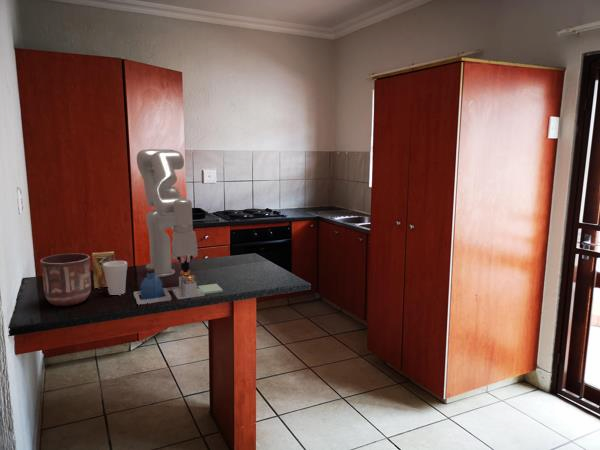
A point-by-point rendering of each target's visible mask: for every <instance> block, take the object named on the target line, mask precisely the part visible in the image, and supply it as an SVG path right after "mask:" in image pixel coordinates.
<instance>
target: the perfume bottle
mask: <svg viewBox="0 0 600 450" xmlns="http://www.w3.org/2000/svg"><path fill="white" fill-rule="evenodd" d="M154 271H155V269H148V268H146V277H144V278H143V280H142V282H141V284H140V291H141V296H140V300H141V299H149V298H156V297H164V293H163V288H164V287H163V281H162V279H161V277H158V276H155V272H154Z"/></svg>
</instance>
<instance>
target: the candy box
mask: <svg viewBox="0 0 600 450" xmlns="http://www.w3.org/2000/svg"><path fill="white" fill-rule="evenodd" d="M91 259H92V260H91V261H92V273H93V286H94V287H93V288H94V289H95V288H98V289H100V288H99V287H107V283H106V278H105V273H104V271H103V264H104V263H106V262H111V261H116V259H115V251H103V252H92V254H91Z"/></svg>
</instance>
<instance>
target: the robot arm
mask: <svg viewBox="0 0 600 450" xmlns="http://www.w3.org/2000/svg"><path fill="white" fill-rule="evenodd" d="M136 165H137V169H138V171H139V173H140V175H141V178H142V180H143V186H144V191H145V192H144V193H145V198H146V199H145V200H146V202H147V205H148V206H149V207H150V208H151V207H152V208H153V207H154V209H152V210H149V211H148V212H147V213H146V215H145V220H146V227H147V230H148V239H149V256H150V257H149V258H150V260H149V261H150V263H146V266H145V269H155V271H154V272H155V276H158V277H159V278H163V277H169V276H172V275H174V274H175V273H176V270H175V269H174V268H172V260H177V261H179V262H180V266H181V267H180V268H181V271H182V270H183V271H184V272H188V270H190V262H191V260H193V259H194V258H196V257H197V258H198V256H199V255H198V251H199V249H198V243H197V242H198V241H197V236H196V235H197V234H196V232H195V231H194V230H193V229H194V227H193V209H192V208H193V204H192V201H191V199H187V198H186V197H183V196H181V193H180V190H179V189H178V188H177V187H176V186H174V185H175V184H177V181H178V176H177V174H176V172H175V170H177V171H178V170H179V171H180V170H182V169H183V167H184V166H185V160H184V156H183V155H182V153H181V152H180V151H178V150H174V149H170V148H168V149H167V148H166V149H165V148H164V149H163V148H161V149H159V148H158V149H157V148H156V149H155V148H154V149H153V148H151V149H150V148H149V149H142V150H140V151H138V152H137V154H136ZM167 229H170V231H173V232H172V235H171V236H172V237H171V238H170V235H169V234H168V233H167V232H166V231H165V230H167ZM184 257H185V259H184Z"/></svg>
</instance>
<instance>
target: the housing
mask: <svg viewBox="0 0 600 450" xmlns="http://www.w3.org/2000/svg"><path fill="white" fill-rule="evenodd" d="M197 286H198V284H197V282H196V281H195V280H194V279H193V283H189V284H186V280H185V279H182V275H181V276H178V286H173V287H172V286H171V287H163V296H162V297H156V298H149V299H141V297H140V296H139V295H141V290H139V291H137V290H136V291H133V297H134V299H136V300H135V301H136V305H137V304H138V306H139V305H140V304H141V305H146V304H147V303H148V304H154V303H161V302H167V301H168V302H169V301H172V296H171V294H170V292H172V293H173V295H174V296H175V297H176V299H177V300H184V299H190V298H198V297H199V298H200V297H204V296H205V295H206V294H204V293H203V291H200V292H202V293H199V292H198V291H197V290H198V288H199V287H197ZM199 289H200V288H199ZM200 290H201V289H200Z"/></svg>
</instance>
